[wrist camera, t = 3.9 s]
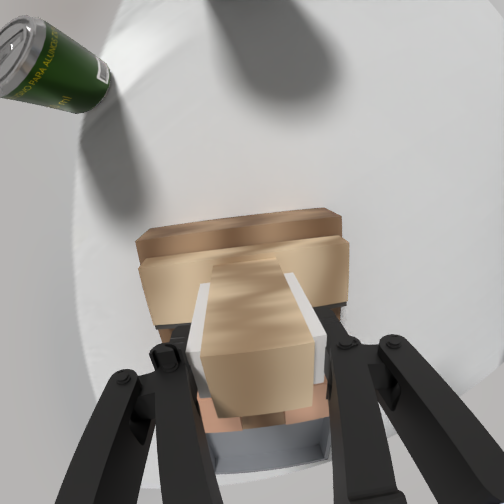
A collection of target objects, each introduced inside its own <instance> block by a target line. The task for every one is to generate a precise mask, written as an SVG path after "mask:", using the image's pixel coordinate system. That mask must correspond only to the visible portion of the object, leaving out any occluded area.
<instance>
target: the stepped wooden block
mask: <svg viewBox="0 0 504 504" xmlns="http://www.w3.org/2000/svg"><path fill="white" fill-rule="evenodd" d="M138 270H139V274H140V278H141V282H142V286H143V290H144V293H145V297H146V301H147V304H148V308H149V311H150V315H151V318H152V321H153V324H154V325H155V327H156V330H158V329H172V328H176V327H177V326H181V325H191V323H192V318H193V314H194V309H195V305H196V300H197V296H198V291H199V287H200V284H202V283H210V288H209V294H208V301H207V308H206V315H205V322H204V329H203V336H202V344H201V351H200V359H201V363H202V367H203V370H204V374H205V377H206V381H207V384H208V388H209V391H210V394H211V398H212V401H213V404H214V407H215V410H216V414H217V417H218V419H219V418H232V417H243V416H253V415H261V414H269V413H276V412H282V411H289V410H295V409H300V408H305V407H311V406H312V401H313V381H314V354H315V341H314V339H313V337H312V335H311V333H310V330H309V328H308V326H307V324H306V321H305V319H304V317H303V315H302V313H301V311H300V308H299V306H298V304H297V302H296V300H295V297H294V295H293V293H292V291H291V289H290V287H289V284H288V282H287V280H286V278H285V276H284V273H292V272H293V273H294V275H295V277H296V278H297V280H298V282H299V284H300V286H301V288H302V289H303V291H304V293H305V295H306V297H307V299H308V300H309V302H310V304H311V306H312V308H313V309H314V308H320V307H328V308H329V309H332V308H338V307H343V306H346V303H347V301H348V283H349V242H348V241H346V240H345V239H343V238H342V237H341V236H339V235H336V236H327V237H318V238H310V239H301V240H293V241H284V242H276V243H267V244H259V245H251V246H242V247H234V248H226V249H218V250H209V251H201V252H193V253H185V254H177V255H169V256H161V257H153V258H146V259H145V261H144V262H143V263H142V264H141V265H140V267H139V268H138Z"/></svg>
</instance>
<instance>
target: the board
mask: <svg viewBox="0 0 504 504" xmlns="http://www.w3.org/2000/svg"><path fill="white" fill-rule="evenodd" d="M336 235H339V236H341V237H342V216H340V215H338V214H336V213H334V212H332V211H330V210H328V209H326V208H314V209H303V210H293V211H283V212H274V213H265V214H256V215H247V216H239V217H231V218H223V219H215V220H207V221H199V222H192V223H185V224H178V225H171V226H164V227H157V228H151V229H149V230H148V231H146V232H145V233H144V234H143V235H142V236H141V237H140V238H138V239H137V240H136V241H135V242H136V247H137V252H138V256H139V260H140V265H141V264H142V263H143V262H144V261H145V259H146V258H153V257H161V256H169V255H177V254H185V253H193V252H201V251H209V250H218V249H226V248H234V247H242V246H251V245H259V244H267V243H276V242H284V241H293V240H301V239H310V238H318V237H327V236H336ZM331 310H333V312H334V313H335V315H336V316H337V318H338V319H339V321H340V311H341V307H338V308H332V309H331ZM174 329H175V328H172V329H158V331H159V334H160V337H161V340H162V343H166V342H169V341H170V339H171V338H170V337H171V334H172V331H173V330H174ZM282 424H285V419H284V415H283V411H282V412H276V413H269V414H261V415H253V416H243V417H242V427H243V429H253V428H261V427H269V426H276V425H282Z"/></svg>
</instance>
